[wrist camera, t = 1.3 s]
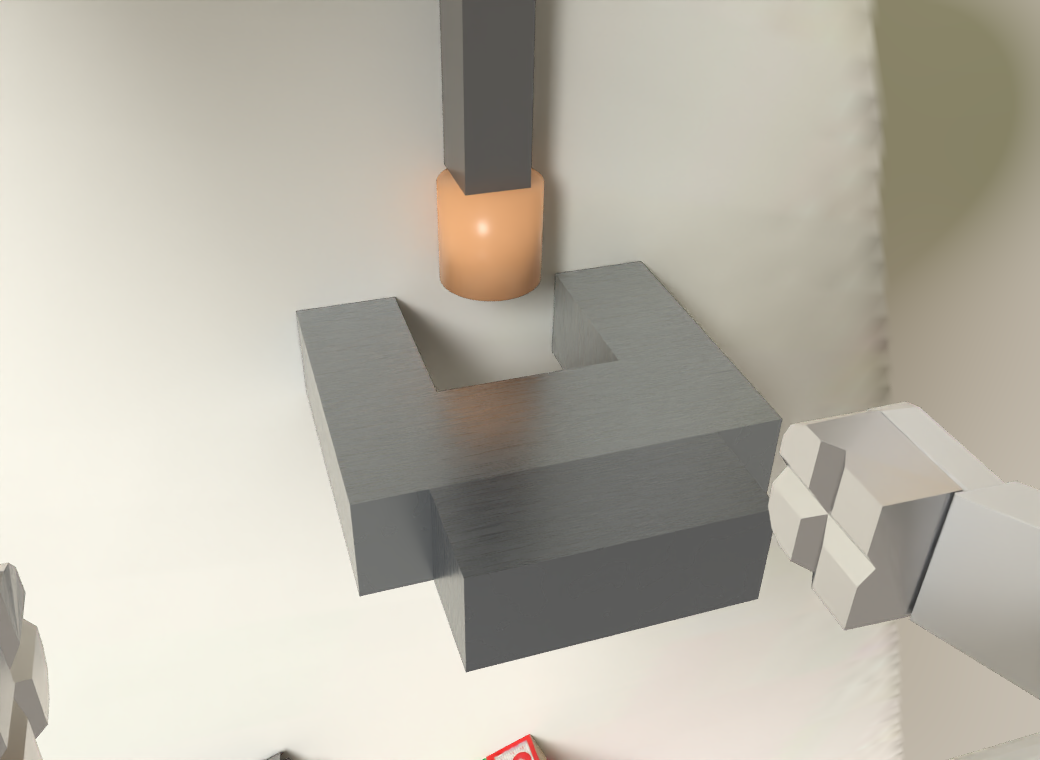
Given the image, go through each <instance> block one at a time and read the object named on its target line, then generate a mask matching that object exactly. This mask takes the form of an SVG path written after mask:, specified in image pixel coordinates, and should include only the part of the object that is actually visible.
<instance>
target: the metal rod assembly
mask: <svg viewBox="0 0 1040 760" xmlns="http://www.w3.org/2000/svg"><path fill="white" fill-rule="evenodd" d="M281 754H283V752H281V753H279V754H277V755H275V756H273V757H271V758H269V759H267V760H280V755H281ZM285 760H290V758H287V759H285Z"/></svg>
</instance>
